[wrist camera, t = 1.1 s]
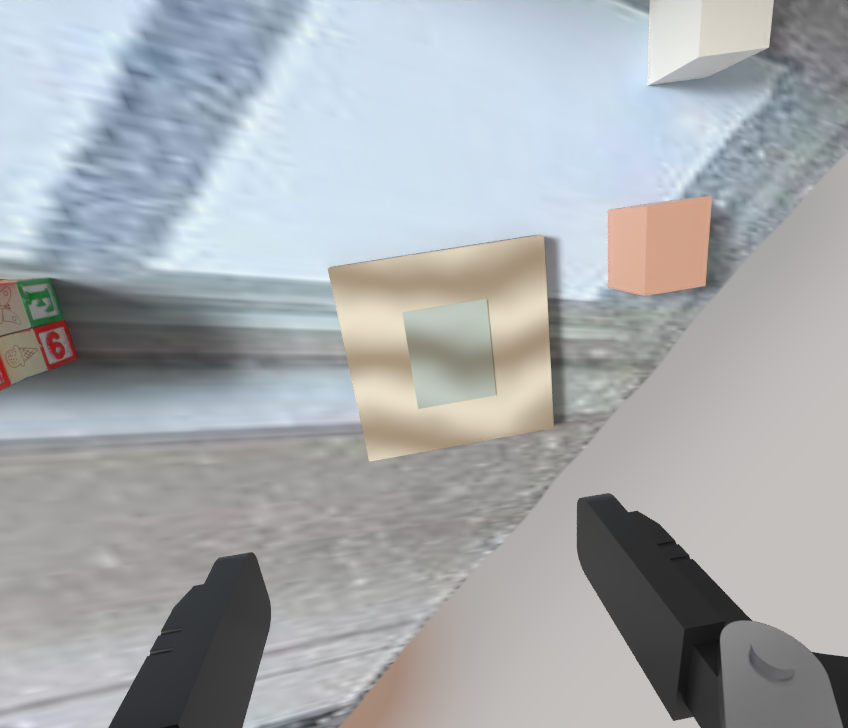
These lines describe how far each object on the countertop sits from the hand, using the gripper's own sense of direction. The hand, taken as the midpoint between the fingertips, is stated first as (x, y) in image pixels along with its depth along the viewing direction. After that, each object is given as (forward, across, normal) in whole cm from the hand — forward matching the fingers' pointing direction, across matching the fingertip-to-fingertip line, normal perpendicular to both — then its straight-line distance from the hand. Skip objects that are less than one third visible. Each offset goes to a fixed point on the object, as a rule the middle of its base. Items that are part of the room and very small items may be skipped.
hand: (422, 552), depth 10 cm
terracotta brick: (+24, -20, -4) cm, 32 cm away
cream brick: (+24, -23, -18) cm, 38 cm away
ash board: (+24, -4, +2) cm, 24 cm away
